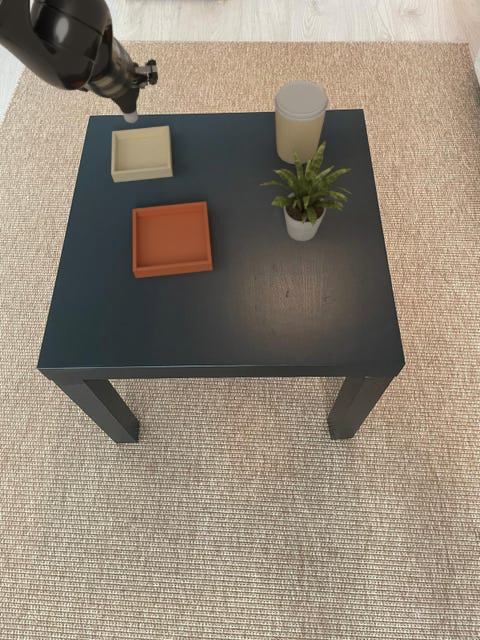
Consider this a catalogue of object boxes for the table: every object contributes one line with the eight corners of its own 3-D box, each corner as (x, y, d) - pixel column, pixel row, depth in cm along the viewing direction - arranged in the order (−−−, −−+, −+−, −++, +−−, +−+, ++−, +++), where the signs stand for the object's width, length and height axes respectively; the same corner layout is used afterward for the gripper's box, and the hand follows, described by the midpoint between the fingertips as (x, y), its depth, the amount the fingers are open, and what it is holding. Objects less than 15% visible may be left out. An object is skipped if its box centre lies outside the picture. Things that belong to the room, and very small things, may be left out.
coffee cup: (315, 130, 96) (322, 76, 85) (324, 165, 92) (333, 112, 81) (269, 135, 96) (270, 81, 85) (276, 170, 91) (278, 118, 81)
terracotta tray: (135, 278, 82) (132, 271, 80) (135, 217, 88) (132, 208, 85) (213, 270, 82) (211, 262, 80) (207, 209, 88) (206, 201, 86)
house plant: (281, 280, 80) (286, 218, 66) (243, 222, 86) (240, 153, 72) (353, 247, 83) (373, 180, 68) (312, 192, 89) (322, 120, 74)
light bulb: (119, 110, 87) (104, 59, 78) (150, 110, 87) (137, 59, 78) (114, 132, 85) (97, 81, 76) (145, 132, 85) (132, 82, 76)
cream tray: (114, 182, 91) (111, 173, 89) (115, 140, 96) (112, 131, 94) (172, 176, 92) (170, 167, 90) (170, 134, 97) (168, 125, 95)
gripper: (149, 27, 64) (162, 55, 80) (42, 38, 64) (77, 63, 80) (158, 89, 67) (169, 103, 83) (54, 99, 66) (86, 112, 82)
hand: (123, 84), depth 81 cm, fingers closed on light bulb, 5 cm apart
